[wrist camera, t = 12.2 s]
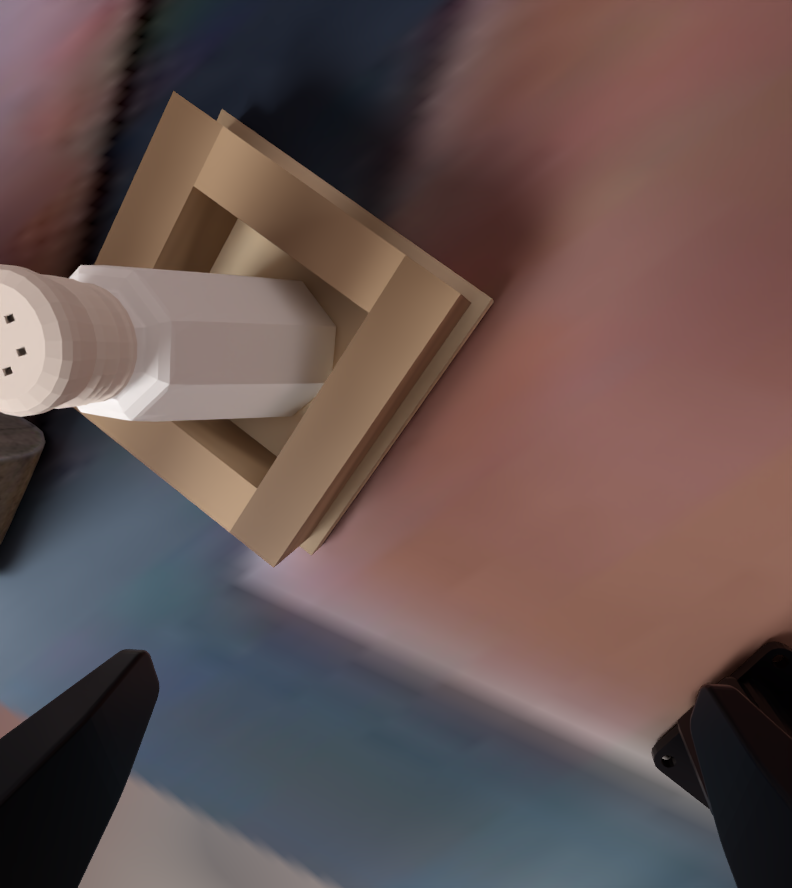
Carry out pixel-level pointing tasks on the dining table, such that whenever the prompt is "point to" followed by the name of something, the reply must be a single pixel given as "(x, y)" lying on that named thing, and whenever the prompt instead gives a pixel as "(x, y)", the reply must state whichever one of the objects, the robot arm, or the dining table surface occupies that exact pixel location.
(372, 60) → the dining table surface
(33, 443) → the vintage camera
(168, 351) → the pepper shaker
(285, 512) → the socket holder
